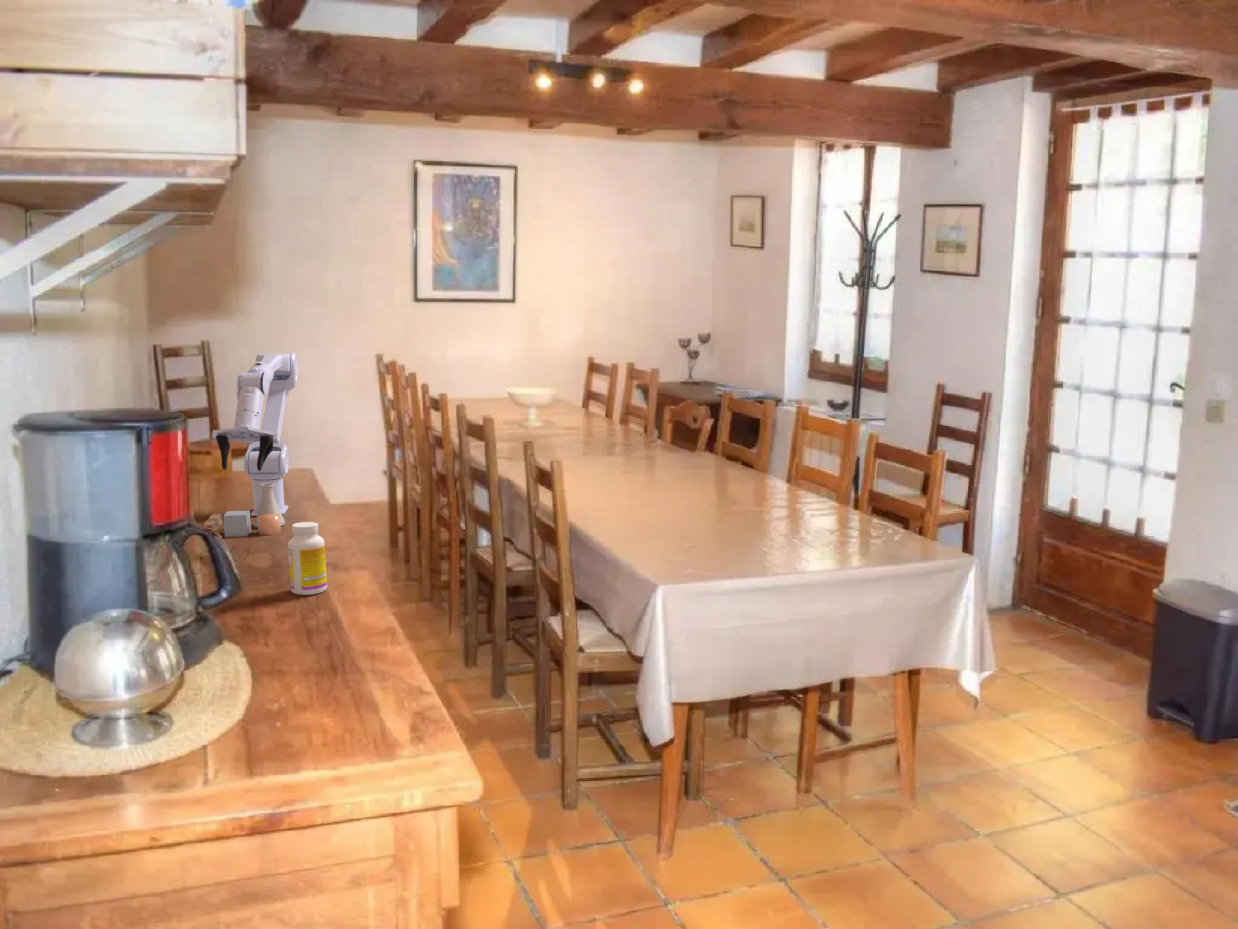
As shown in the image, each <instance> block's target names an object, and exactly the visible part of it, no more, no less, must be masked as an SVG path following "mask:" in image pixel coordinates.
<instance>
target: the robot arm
mask: <svg viewBox="0 0 1238 929" xmlns="http://www.w3.org/2000/svg"><path fill="white" fill-rule="evenodd" d="M298 375H299V358H298V355H297V354H296V352H274V353H273V352H271V353H269V352H268V353H266V352H265V353H263V352H259V353H257V355H256V357H255V363H254V364H253V365H252V366H251V367H250V368H249V370H247V372H242V373H240V374H238V375H237V377H236V398H237V403H236V404H237V405H236V410H235V417H234V426H233V427H230V428H225V429H213V430H212V433H211V434H212V435H211V438H212V441H213V442H215V443H216V442H217V446H218V449H219V452H220V457H221V467H222V470H225V471H226V470H227V467H228V460H229V459H228V457H229V453H230V451H231V450H230V449H231V444H230V441H233V442H234V441H235V442H240V443H246V444H247V443H248V444H249V443H251V444H249V445H248V447H247V451H246V453H245V454H244V457H243V468H244V472H245V474H246V475H247V476H248V477H249V479H250V480H252V482H251V483H252V495H253V497H252V498H253V510H252V511H251V512H250V517H253V516H254V517H255V516H256V517H257V514H258V511H259V507H260V503H261V497H262V489H261V487H260V485H261V484H264V483H273V484H274V487H273V493H274V497H275V500H276V503H277V505H278V507H279V510H280V512H281V514H282V516H283V515H285V514H286V512H287V510H288V508H290V507H289V505H287V504H285V492H284V479H283V477H284V476H286V475H287V474H288V472H289V466H290V465H289V464H290V461H289V460H290V458H289V457H290V453H289V452H290V451H289V449H288V447H287V445H286V444H285V443H284V442H282V441H281V435H282V430H283V425H284V424H283V422H284V417H285V411H286V408H287V407H286V406H287V405H286V404H287V400H288V396H289V393H290V391H292V390H293V389H295V388H296V384H297V382H298V377H299V376H298ZM265 397H266V398H267V399H266V404H265V409H264V414H263V408H264V406H263V405H264V399H265ZM262 414H263V415H264V416H263V415H262ZM262 417H263V420H262ZM261 424H262V425H261Z"/></svg>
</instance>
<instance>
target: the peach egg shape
mask: <svg viewBox="0 0 1238 929" xmlns="http://www.w3.org/2000/svg"><path fill="white" fill-rule="evenodd" d="M256 518H257V521H258V528H257V532H258V535H260V536H273V535H278V534H281V533H282V530H281V529H282V526H281V524H280V515H279V514H262V515H259V516H256Z"/></svg>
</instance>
